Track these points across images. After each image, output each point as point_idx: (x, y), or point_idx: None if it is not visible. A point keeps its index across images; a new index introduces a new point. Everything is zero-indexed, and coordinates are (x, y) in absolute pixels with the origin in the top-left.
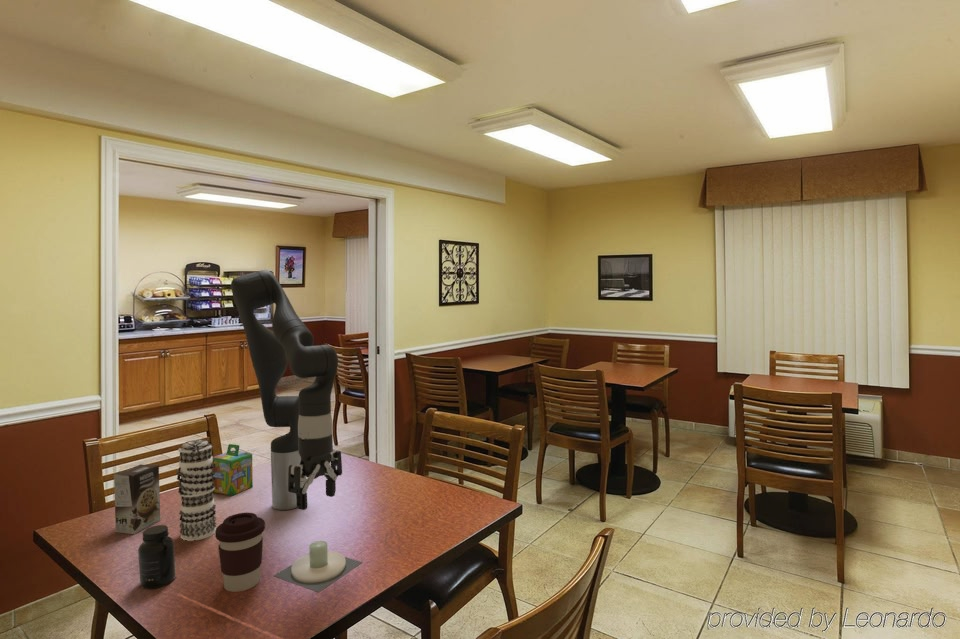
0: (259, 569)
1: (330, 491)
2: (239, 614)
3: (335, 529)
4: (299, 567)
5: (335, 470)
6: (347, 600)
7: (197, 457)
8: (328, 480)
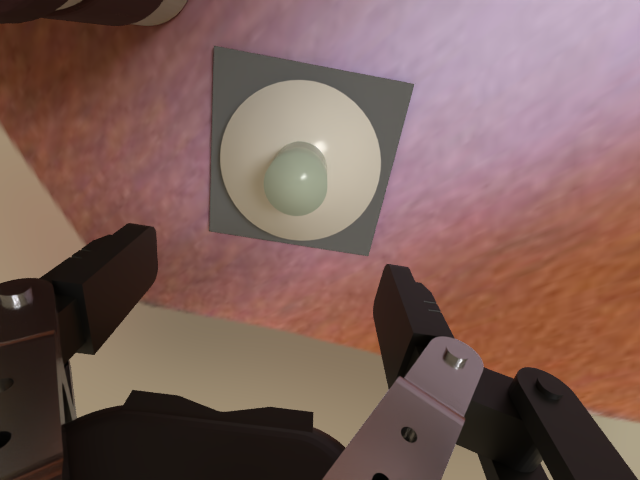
0: (149, 17)
1: (382, 315)
2: (44, 89)
3: (591, 32)
4: (260, 123)
5: (520, 445)
6: (224, 293)
7: None
8: (412, 355)
